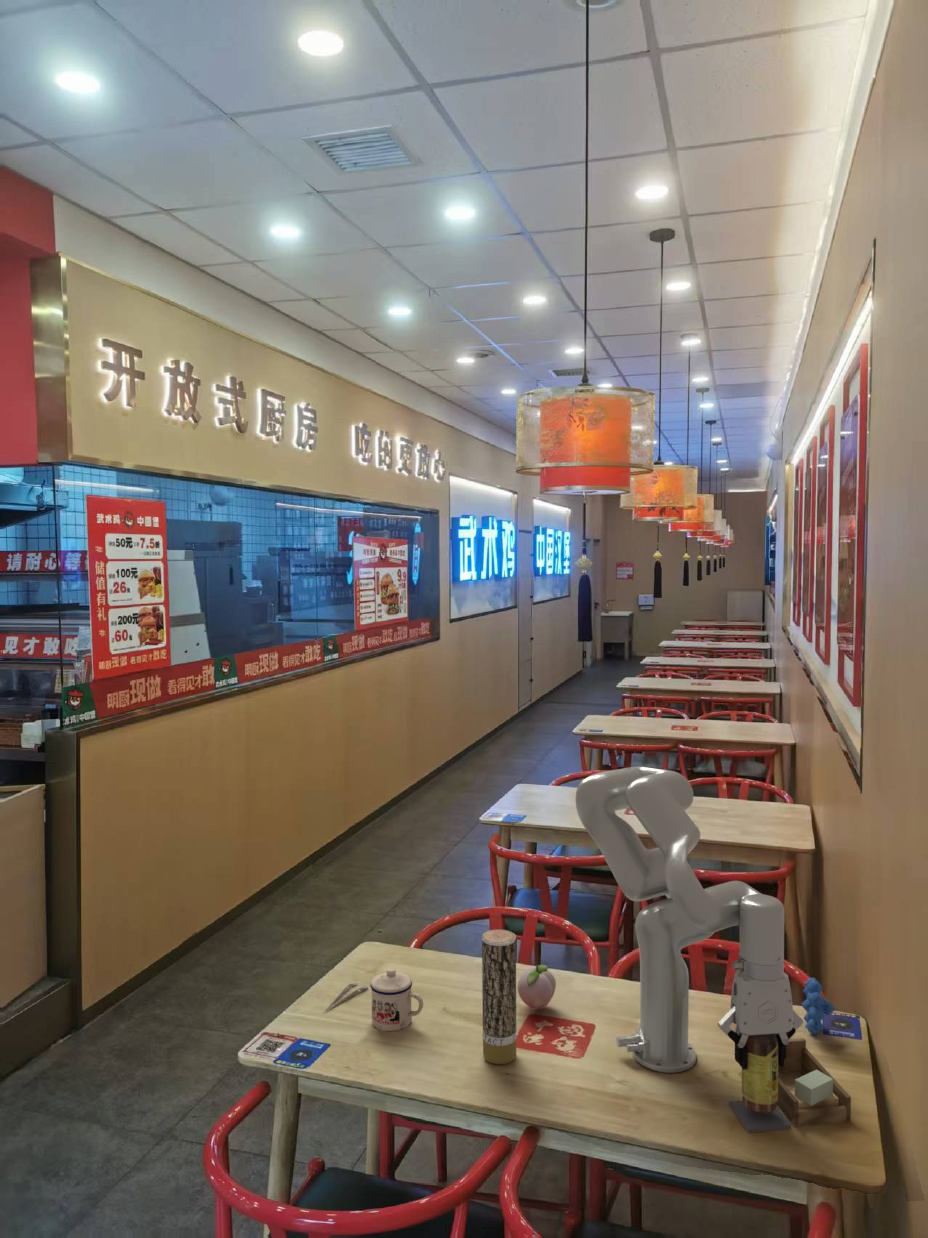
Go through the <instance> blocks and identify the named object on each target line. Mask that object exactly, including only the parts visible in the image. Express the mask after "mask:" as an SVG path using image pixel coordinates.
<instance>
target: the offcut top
mask: <svg viewBox="0 0 928 1238" xmlns="http://www.w3.org/2000/svg"><path fill="white" fill-rule="evenodd" d="M794 1091H795V1096H796V1097H798V1098H799V1099H801V1100H803V1101H804V1102H806V1103H807V1104H809V1105H811V1106H812V1105H814V1104H816V1103H818V1102H820V1101H822V1100H824V1099H826V1098H828V1097H830V1096H832V1095H833V1079H832V1078H830V1077H829V1076H827V1075H825V1074H823V1073H822V1072H820V1071H818V1070H815V1071H813V1072H810V1073H808V1074H806V1075H805V1074H804V1075H802V1076H800V1077H798V1078H796V1079H794Z"/></svg>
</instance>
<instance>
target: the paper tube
mask: <svg viewBox="0 0 928 1238" xmlns="http://www.w3.org/2000/svg"><path fill="white" fill-rule="evenodd" d="M516 937H517V936H516V934H515V932H513V931H510V930H508V929H507V930H506V929H490V930H487V931H485V932H484V933H483V934H482V935H481V954H482V955H481V961H482V962H481V966H482V967H481V970H482V971H481V973H482V976H481V977H482V978H481V979H482V980H481V982H482V985H481V986H482V989H481V990H482V994H481V995H482V1055H483V1058H484V1059H485V1061H487V1062H489V1063H491V1064H494V1065H506V1064H509V1063H511V1062H513V1061H514V1060H515V1058H516V1057H517V938H516Z"/></svg>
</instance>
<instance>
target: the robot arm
mask: <svg viewBox="0 0 928 1238" xmlns="http://www.w3.org/2000/svg"><path fill="white" fill-rule="evenodd" d="M576 788H577V789H576V792H575V807H576V811H577V816H578V817H579V819H580V822H581V824H582V825H583V827H584V828H585V830H586V831H587V833H588V834H589V836H590V837H591V838H592V839H593V841H594V843H595V844H596V846H597V848H598V849H599V850H600V852H601V854H602V856H603V858H604V860H605V862H606V864H607V866H608V868H609V869H610V871H611V873H612V874H613V878H615V881H616V883H617V885H618V887H619V888H620V889H621V892H622V893H623V894H624V896H626V898H628V899H629V900H630V901H633V902H643V901H648V900H650V899H656V898H658V897H662V896H665V897H666V899H662V900H659V901H657V902H653V903H651V904H648V905H646V906H644V908H642V909H641V910H640V911H639V912H638V915H636V918H635V923H634V926H635V927H634V928H635V935H636V940H637V943H638V944H637V946H638V950H639V952H638V953H639V967H640V968H639V976H640V977H639V980H640V981H639V982H640V985H639V986H640V989H639V990H640V991H639V992H640V994H639V995H640V996H639V998H640V999H639V1001H640V1002H639V1004H640V1005H639V1006H640V1008H639V1009H640V1010H639V1011H640V1013H639V1014H640V1015H639V1016H640V1017H639V1018H640V1019H639V1022H640V1023H639V1025H640V1026H639V1028H635V1033H632V1034H631V1036H630V1035H629V1036H626V1035H625V1036H623V1035H621V1036H616V1045H617V1047H618V1048H626V1052H627V1053H632V1055H633V1056H632V1057H633V1058H634V1059H635V1061H637V1063H639V1065H641V1066H643V1067H645V1068H646V1069H650V1070H652V1071H656V1072H659V1073H668V1074H669V1073H671V1074H673V1073H680V1072H684V1071H687V1070H689V1069H691V1068H692V1067H693V1066H694V1065H695V1063H696V1062H697V1052H696V1050H695V1048H694V1047H693V1046H692V1044H691V1043H689V1005H690V1004H689V1002H690V1001H689V994H690V993H689V991H690V990H689V987H690V986H689V983H690V981H689V969H688V966H687V964H686V961H685V960H684V958H683V957H682V953H681V952H682V951H681V950H683V948H686V947H688V946H690V945H694V944H696V943H699V942H702V941H705V940H707V939H709V938H711V937H712V936H713V935H714V934H715V932H719V931H723V930H725V929H728V928H731V927H736V926H739V948H738V949H739V954H738V958H737V960H735V961H731V966H732V969H733V970H736V971H735V973H734V978H733V982H732V989H731V995H730V1006H729V1007H730V1009H729V1010H728V1011H727V1012H726V1014H725V1015H724V1016H723V1017H722V1018H721V1019H720V1020H719V1021H718V1022H717V1026H718V1027H719V1028H720V1031H722V1032H723V1033H724V1034H725V1036H727V1037H728V1038H729V1039H731V1040H732V1042H733V1043H734V1060H735V1062H736V1063H738V1065H739V1066H740V1067H741V1070H742V1069H743V1070H745V1069H747V1064H748V1049H747V1047H746V1046H745V1043H746V1041H747V1039H748V1036H751V1035H767V1034H776V1036H777V1039H778V1065H779V1066H780V1067H784V1059H785V1058H786V1045H787V1044H788V1043H789V1039H792V1037H793V1036H794V1035H795V1034H796V1032H797V1030H798V1029H799V1028H800V1027H801V1026H802V1025H803V1024H804V1019H802V1018H801V1017H800V1016H799V1015H798V1014H797V1013H796V1012H795V1011H794V1008H793V1007H794V1006H793V1005H794V1004H793V997H792V989H791V983H790V979H789V975H788V974H787V973H786V972H784V967H785V964H784V962H785V906H784V904H783V903H782V901H781V900H779V899H778V898H777V897H775V896H772V895H768V894H763V893H761V892H759V890H757V889H755V888H753V887H752V886H750V885H749V884H748V883H746V882H743V881H740V880H731V881H727V882H726V881H725V882H723V883H720V884H717V885H713V886H709V887H705V888H704V887H703V885H702V884H701V882H700V881H699V879H698V878H697V876H696V874H695V872H694V870H693V869H692V867H691V865H690V864H689V862H688V855H689V854H690V853H691V852H692V851H693V849H695V848H696V846H697V844H698V843H699V841H700V839H701V830H700V829H699V827H698V825H696V824H695V822H694V821H693V819H692V818H691V817H690V816H689V814H688V813H687V812H686V810H688V809H689V808H690V807H691V805H692V804H693V801H694V789H693V786H692V785H691V782H690V781H689V780H688V779H687V777H685V776H684V775H682V774H681V773H680V772H677V771H674V770H668V769H663V768H662V769H661V768H656V767H655V768H654V767H646V766H631V767H624V768H620V769H619V768H618V769H612V770H611V769H610V770H606V771H601V772H597V773H594V774H593V773H592V774H591V775H589V776H587V777H585V778H584V779H582V780H581V781H580V783H579V784H578V786H577V787H576ZM625 809H630V810H631V811H632V813H633V814H634V816H635V817H636V818H637V820H638V821H639V822H640V824H641V825H642V827H643V828H644V830H645V831H646V832H647V833H648V835H649V836H650V838H651V839H652V840H653V842H654V843H655V845H656V847H654V848H651V849H648V848H646V846H645V845H644V844H643V842H642V840H641V839H640V837H639V835H638V834H637V832H636V830H635V829H634V827H633V826H631V825H630V824H629V823H628V822H627V821H626V820H625V819H624V818H622V817H620V816H618V815H617V814H616V811H620V810H625ZM733 1024H734V1025H735V1028H734V1030H733V1029H732V1028H731V1025H733Z"/></svg>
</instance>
